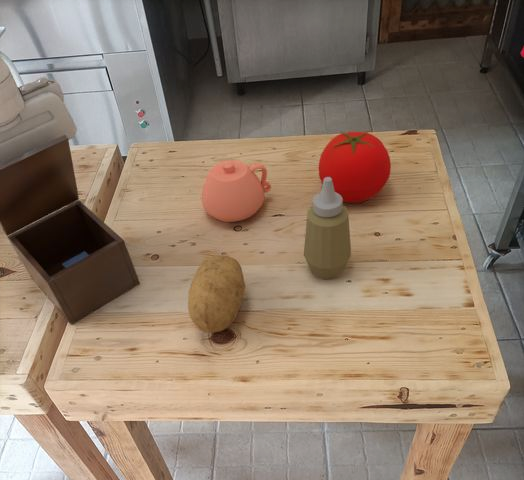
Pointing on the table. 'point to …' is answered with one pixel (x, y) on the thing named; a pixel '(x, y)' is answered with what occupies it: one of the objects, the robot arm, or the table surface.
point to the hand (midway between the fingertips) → (31, 184)
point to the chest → (82, 272)
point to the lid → (36, 185)
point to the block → (74, 259)
